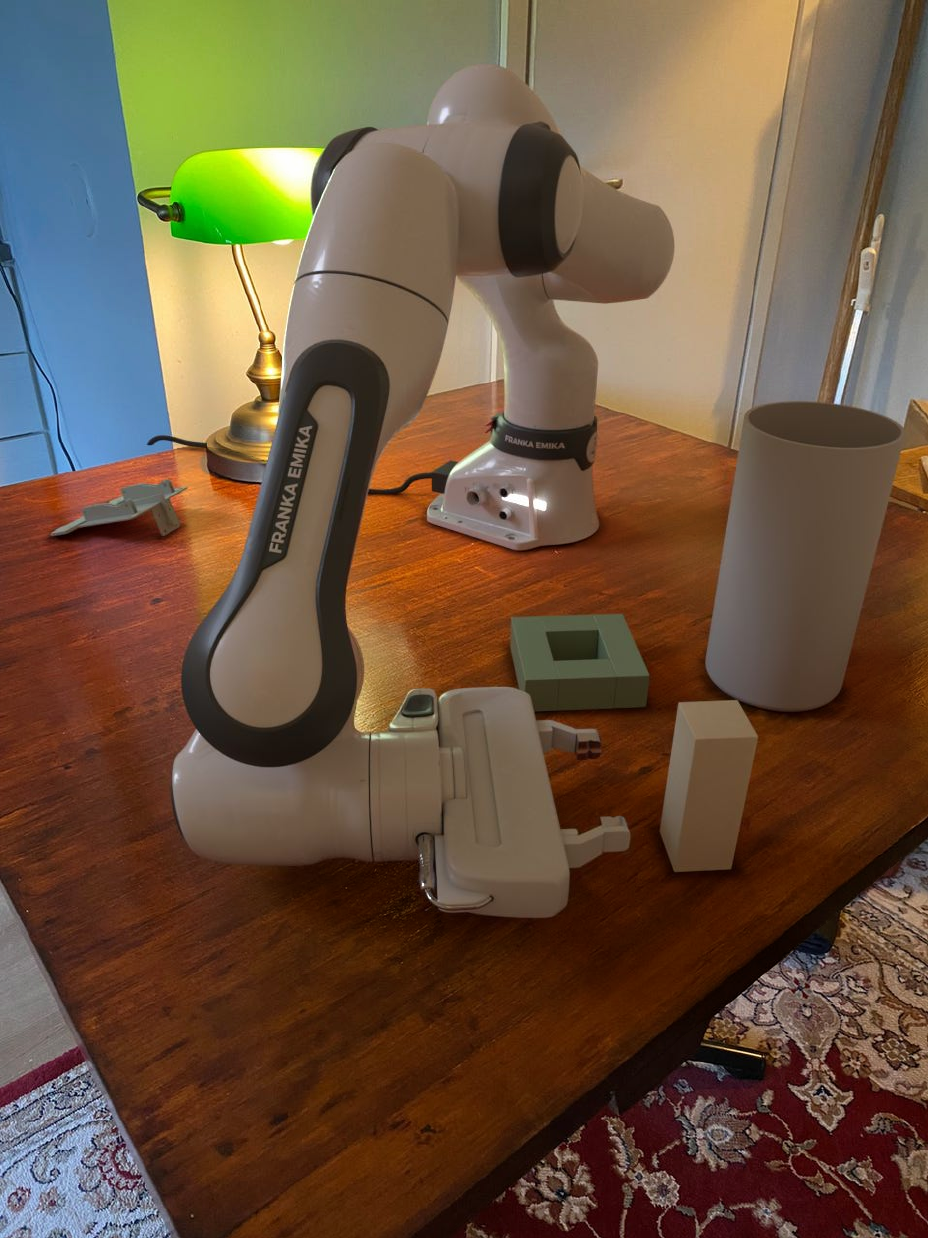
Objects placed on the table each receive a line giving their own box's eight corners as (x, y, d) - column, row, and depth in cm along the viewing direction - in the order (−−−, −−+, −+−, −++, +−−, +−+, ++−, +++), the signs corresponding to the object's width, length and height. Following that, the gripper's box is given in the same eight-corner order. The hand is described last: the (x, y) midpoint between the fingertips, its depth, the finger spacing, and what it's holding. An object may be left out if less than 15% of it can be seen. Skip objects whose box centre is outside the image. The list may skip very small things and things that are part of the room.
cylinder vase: (822, 732, 79) (889, 460, 67) (685, 689, 85) (724, 431, 73) (853, 666, 89) (917, 416, 76) (727, 631, 94) (768, 393, 82)
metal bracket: (197, 467, 119) (119, 509, 107) (213, 508, 121) (139, 554, 109) (118, 481, 125) (37, 522, 113) (135, 520, 128) (57, 564, 116)
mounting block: (523, 712, 82) (525, 680, 80) (510, 647, 92) (511, 616, 90) (646, 707, 83) (650, 675, 81) (619, 643, 92) (622, 613, 91)
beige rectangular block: (674, 872, 65) (695, 739, 59) (659, 831, 69) (678, 701, 63) (731, 869, 65) (758, 736, 59) (713, 829, 69) (737, 699, 63)
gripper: (417, 873, 52) (654, 861, 53) (411, 675, 70) (589, 669, 71) (420, 947, 55) (643, 936, 56) (414, 740, 73) (584, 733, 74)
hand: (612, 785), depth 64 cm, fingers open, 8 cm apart
